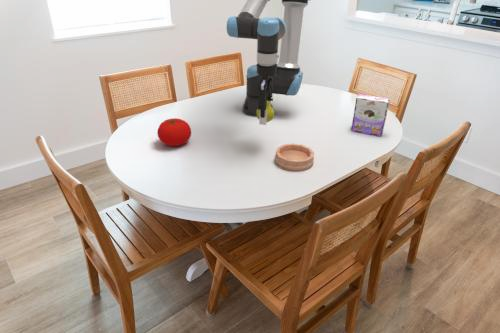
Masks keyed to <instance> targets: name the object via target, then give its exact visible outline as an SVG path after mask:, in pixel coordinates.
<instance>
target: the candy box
mask: <svg viewBox="0 0 500 333" xmlns="http://www.w3.org/2000/svg"><path fill="white" fill-rule="evenodd" d="M390 99H391V98H388V97H381V96H380V97H379V96H373V95H368V94H362V93H358V95H357V96H356V98H355V103H354V105H355V106H354V110H353V117H352V123H351V127H350V128H351V129H350V132H353V133H361V134H366V135H370V136H377V137H382V136H383V133H384V129H385V125H386V120H387V115H388V109H389V105H390Z"/></svg>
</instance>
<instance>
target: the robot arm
mask: <svg viewBox="0 0 500 333" xmlns="http://www.w3.org/2000/svg"><path fill="white" fill-rule="evenodd" d="M270 1H271V0H246V2H245V4H244V6H243V7H242V8H241V11H240V12H239V13H238V15H237V16H234V15H233V16H229V17H228V18H227V21H226V33H227V35H228V36H229V37H231V38H237V39H252V40H256V41H257V44H256V46H257V47H256V50H257V51H256V64H253V65H251V66H248V68H247V69H246V95H245V96H246V97H245V99H244V102H243V105H242V112H243V114H245V115H248V116H250V117H257V112H256V111H257V109H258V110H260V114H259V119H258V122H259V123H258V124H259V125H263V126H266V125H267V122H266V120H267V109H266V105H267V100H268V101H269V104H270V106H271V107H272V108H273V104H272V102H273V101H274V98H273V95H274V94H276V95H283V96H286V97H287V96H291V97H293V96H296V95H297V94H298V93H299V91H300V89H301V85H302V80H303V76H304V72H303V71H302V70H301V66H300V65H299V64H298V62H299V61H298V60H299V53H300V43H301V34H302V27H303V26H302V25H303V16H304V9H305V8H306V7H307V6H308V3H309V1H311V0H281V4H282V5H283V8H284V12H283V19H282V18H280V17H262V18H260V17H261V15H262V13H263V12H264V9H265V7H266V5H267V3H268V2H270ZM280 39H281V40H280ZM279 41H280V51H279ZM278 53H279V54H278ZM278 59H279V61H278ZM269 92H270V93H269ZM268 94H269V95H268ZM267 96H268V97H267Z"/></svg>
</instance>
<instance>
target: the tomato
mask: <svg viewBox="0 0 500 333" xmlns="http://www.w3.org/2000/svg"><path fill="white" fill-rule="evenodd" d="M156 133H157V137H158V139H159V140H160V142H161V143H162V144H163V145H166V146H169V147H175V146H176V147H177V146H181V145H184V144H186V142H188V141H189V139H190V138H191V136H192V129H191V125H190V124H189V123H188V121H186V120H183V119H181V118H176V117H175V118H167V119H165V120H163V121H162V122H161V123H160V124H159V126H158V128H157V132H156Z"/></svg>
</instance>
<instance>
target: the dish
mask: <svg viewBox="0 0 500 333" xmlns="http://www.w3.org/2000/svg"><path fill="white" fill-rule="evenodd" d="M314 155H315V152H314V151H313V150H312V149H311V148H310V147H308V146H306V145H304V144H298V143H287V144H286V143H285V144H282V145H280V146H278V147H277V149H276V151H275V154H274V162H275V164H276V165H277V166H278V167H279V168H281V169H283V170H286V171H290V172H302V171H303V172H305V171H306V170H309V169H311V168H312V167H313V166H314V160H315V158H314V157H315V156H314Z"/></svg>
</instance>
